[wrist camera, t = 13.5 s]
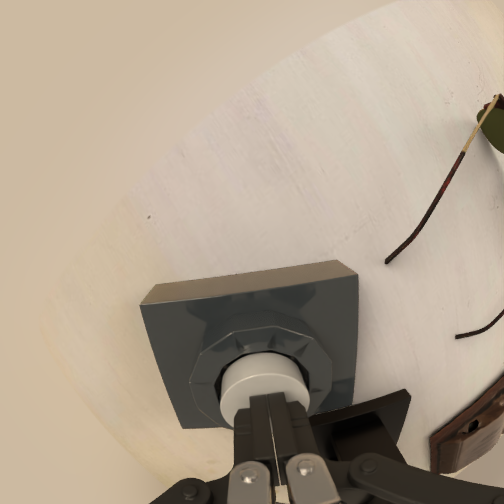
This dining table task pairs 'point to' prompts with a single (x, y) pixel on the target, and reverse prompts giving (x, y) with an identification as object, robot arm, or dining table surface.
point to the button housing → (255, 333)
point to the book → (470, 444)
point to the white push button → (260, 382)
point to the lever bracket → (362, 428)
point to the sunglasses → (498, 134)
